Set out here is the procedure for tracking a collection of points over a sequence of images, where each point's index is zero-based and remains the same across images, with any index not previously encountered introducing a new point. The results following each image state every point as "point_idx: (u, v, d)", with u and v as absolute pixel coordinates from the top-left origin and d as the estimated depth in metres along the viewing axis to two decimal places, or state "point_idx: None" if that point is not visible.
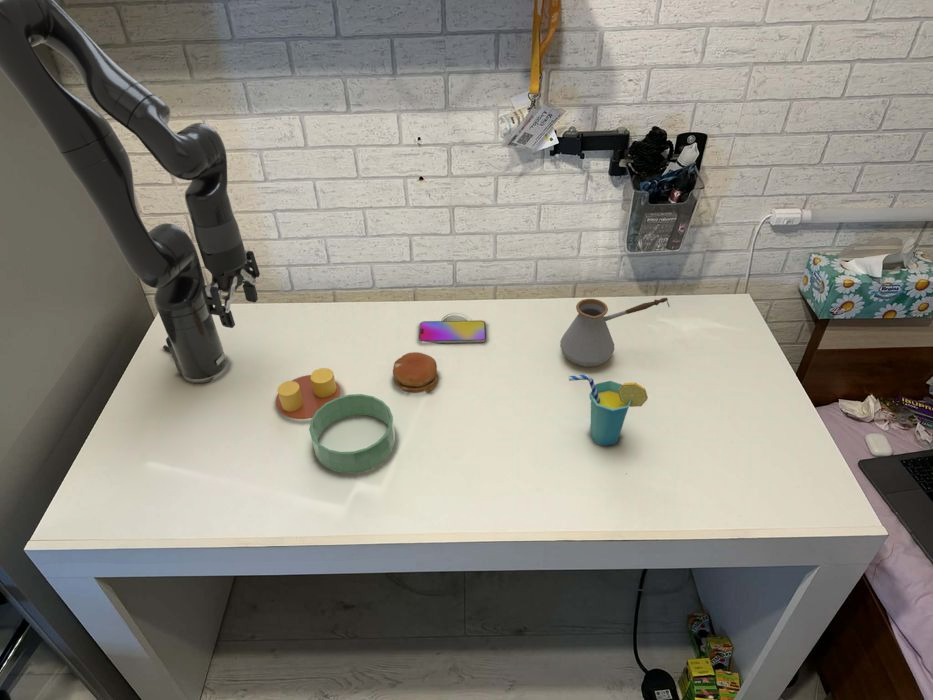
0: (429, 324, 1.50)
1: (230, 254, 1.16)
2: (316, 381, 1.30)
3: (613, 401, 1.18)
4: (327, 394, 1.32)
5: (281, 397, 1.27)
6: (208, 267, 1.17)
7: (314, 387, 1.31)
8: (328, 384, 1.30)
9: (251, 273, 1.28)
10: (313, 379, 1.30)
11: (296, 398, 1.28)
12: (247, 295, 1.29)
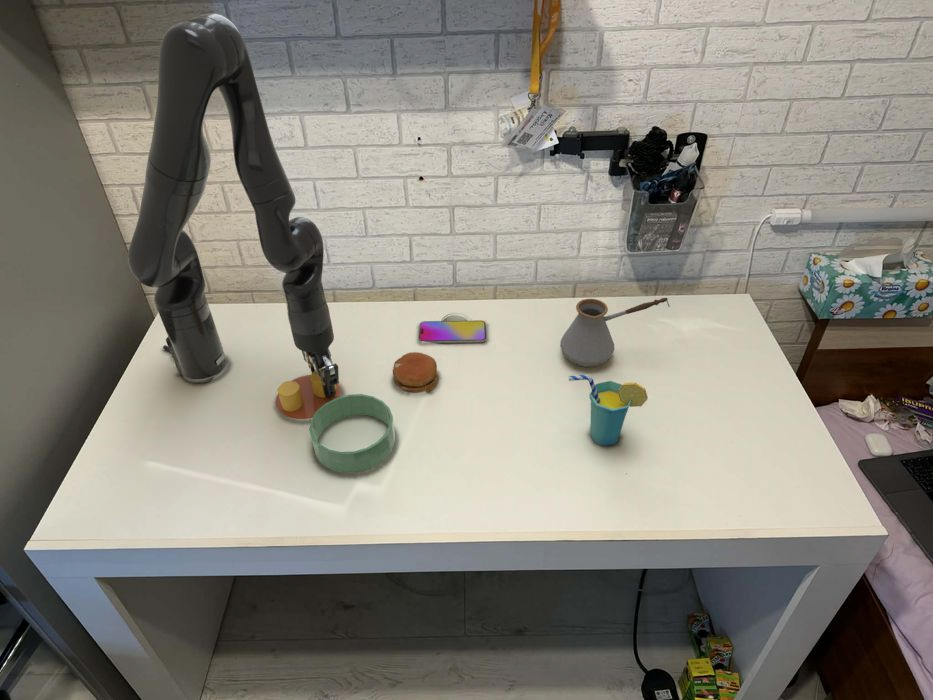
0: (429, 324, 1.50)
1: (330, 326, 1.23)
2: (316, 381, 1.30)
3: (613, 401, 1.18)
4: None
5: (281, 397, 1.27)
6: (316, 348, 1.22)
7: (314, 387, 1.31)
8: None
9: None
10: (313, 379, 1.30)
11: (296, 398, 1.28)
12: None
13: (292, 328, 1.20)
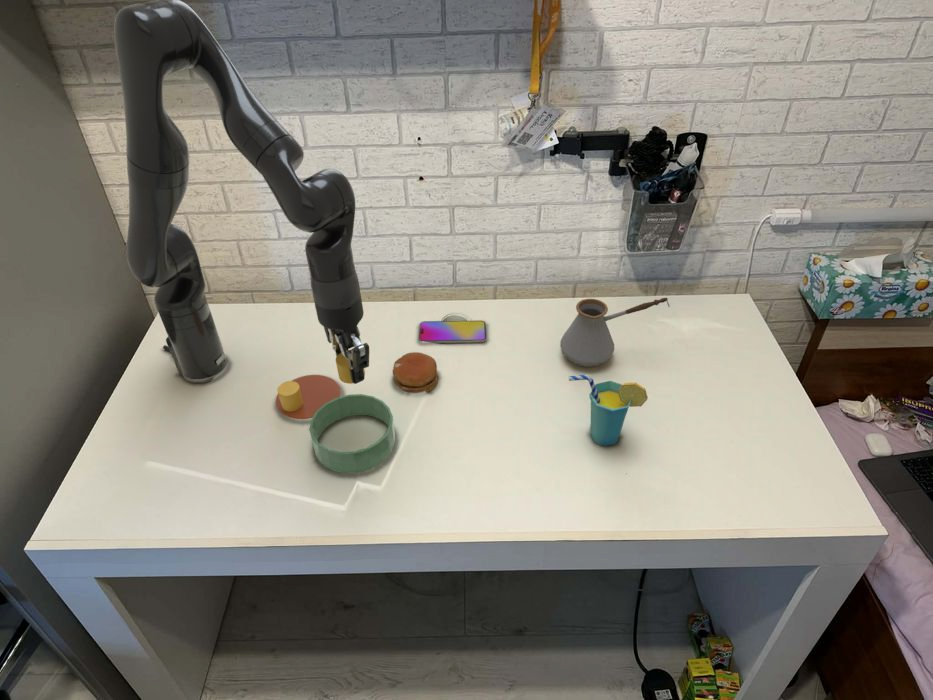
0: (429, 324, 1.50)
1: (360, 299, 1.07)
2: (342, 364, 1.13)
3: (613, 401, 1.18)
4: None
5: (281, 397, 1.27)
6: (344, 325, 1.05)
7: (340, 371, 1.14)
8: None
9: None
10: (339, 362, 1.13)
11: (296, 398, 1.28)
12: None
13: (316, 301, 1.03)
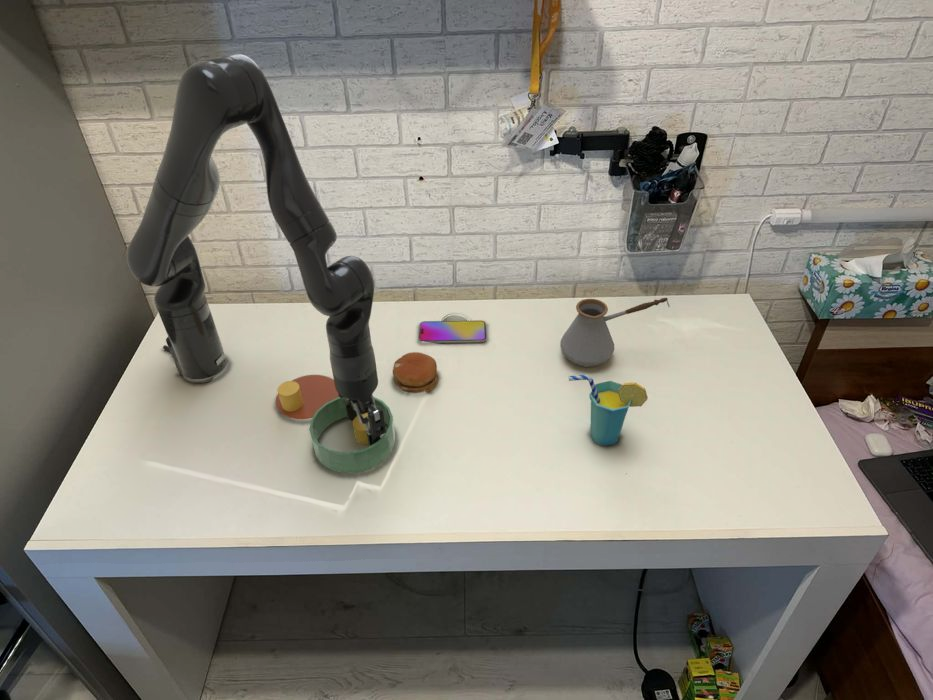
0: (429, 324, 1.50)
1: (375, 370, 1.13)
2: (359, 428, 1.20)
3: (613, 401, 1.18)
4: None
5: (281, 397, 1.27)
6: (360, 395, 1.12)
7: (357, 434, 1.21)
8: None
9: None
10: (356, 426, 1.21)
11: (296, 398, 1.28)
12: (351, 415, 1.24)
13: (335, 373, 1.10)
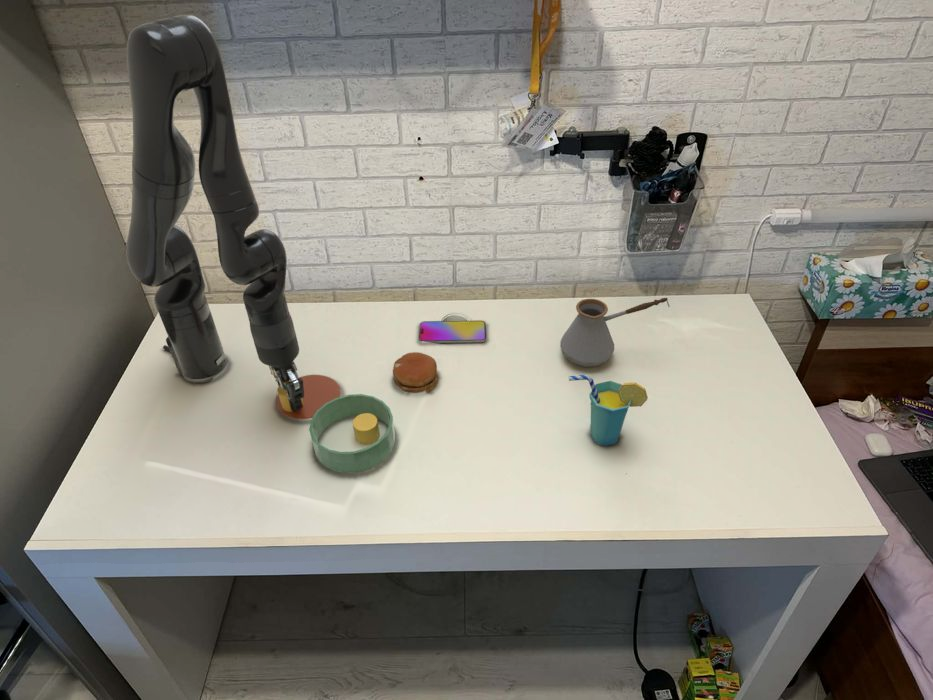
0: (429, 324, 1.50)
1: (295, 339, 1.20)
2: (359, 428, 1.20)
3: (613, 401, 1.18)
4: (370, 442, 1.22)
5: (281, 397, 1.27)
6: (280, 362, 1.19)
7: (357, 434, 1.21)
8: (372, 431, 1.21)
9: None
10: (356, 426, 1.21)
11: None
12: None
13: (255, 342, 1.17)
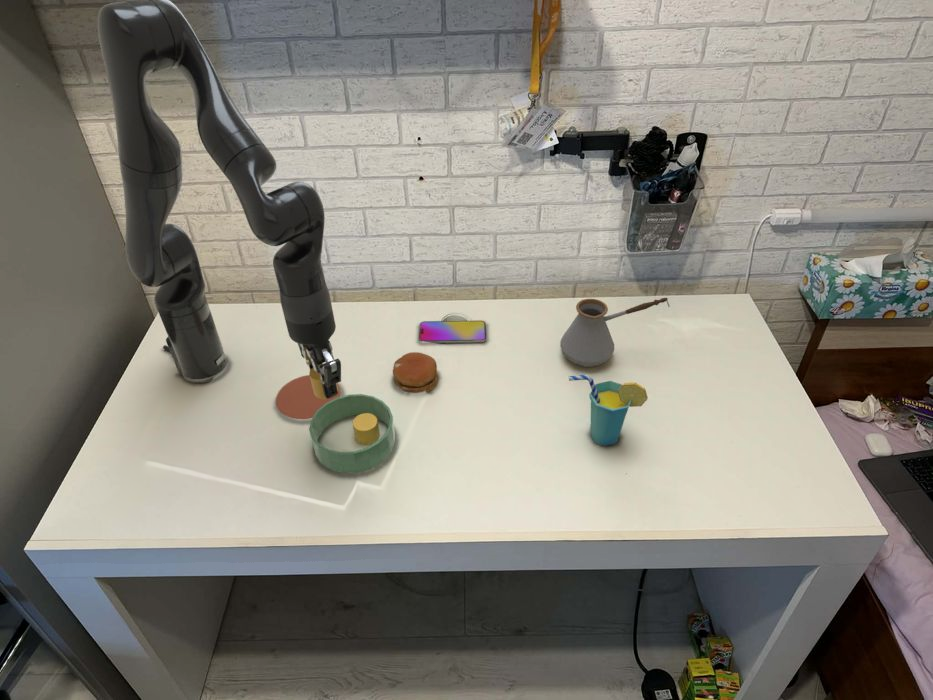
0: (429, 324, 1.50)
1: (332, 314, 1.04)
2: (359, 428, 1.20)
3: (613, 401, 1.18)
4: (370, 442, 1.22)
5: (314, 382, 1.11)
6: (314, 340, 1.03)
7: (357, 434, 1.21)
8: (372, 431, 1.21)
9: None
10: (356, 426, 1.21)
11: None
12: None
13: (286, 316, 1.01)
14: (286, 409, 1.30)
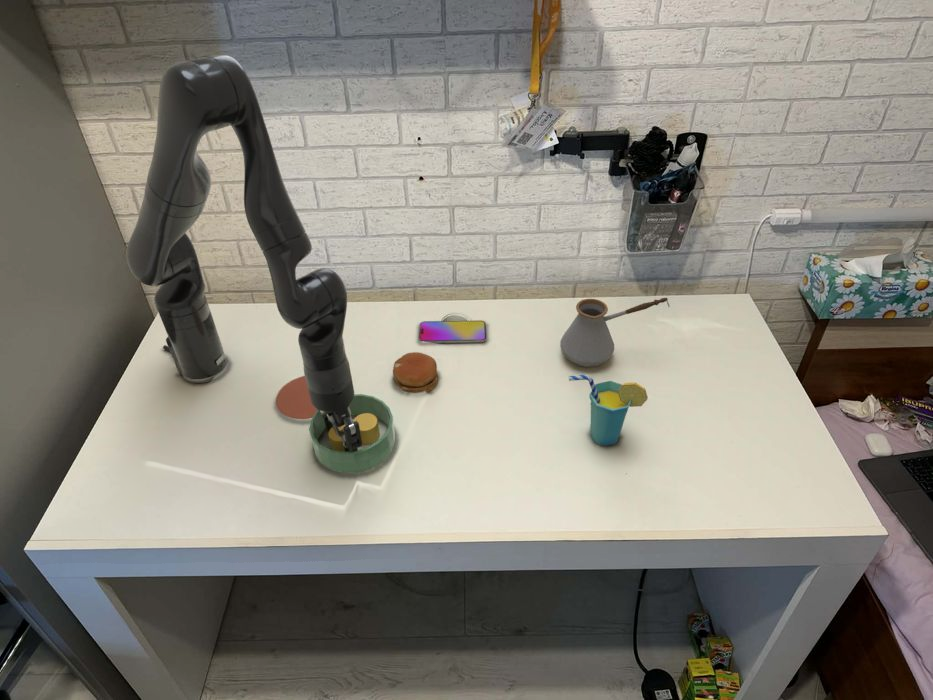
0: (429, 324, 1.50)
1: (351, 382, 1.12)
2: None
3: (613, 401, 1.18)
4: (370, 442, 1.22)
5: (332, 442, 1.18)
6: (335, 408, 1.10)
7: None
8: (372, 431, 1.21)
9: None
10: None
11: None
12: (329, 428, 1.22)
13: (309, 386, 1.08)
14: (286, 409, 1.30)
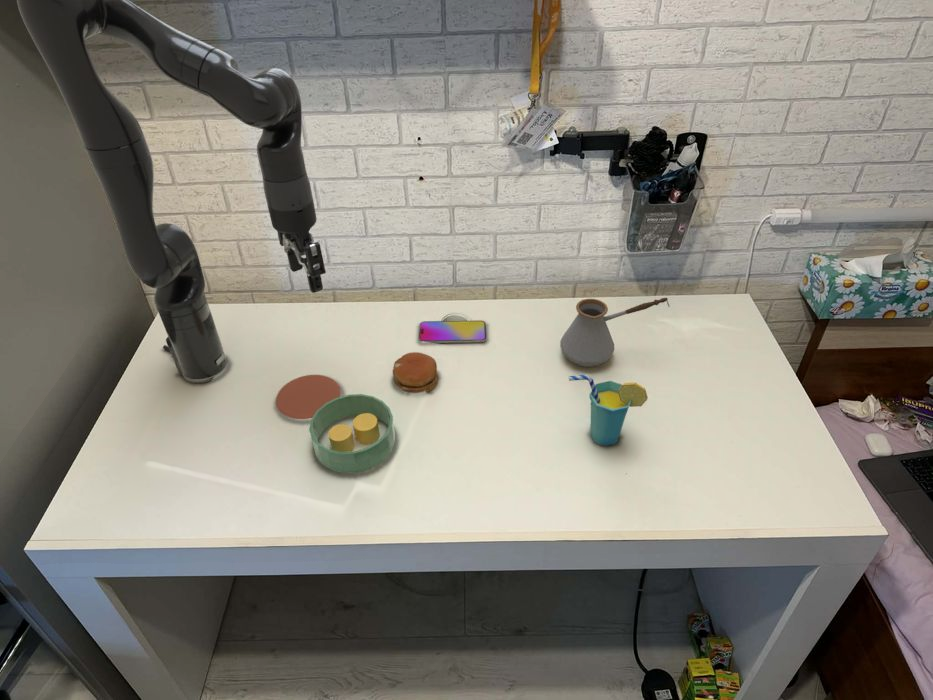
0: (429, 324, 1.50)
1: (312, 205, 1.10)
2: (359, 428, 1.20)
3: (613, 401, 1.18)
4: (370, 442, 1.22)
5: (332, 442, 1.18)
6: (296, 228, 1.09)
7: (357, 434, 1.21)
8: (372, 431, 1.21)
9: None
10: (356, 426, 1.21)
11: (348, 443, 1.19)
12: (293, 264, 1.21)
13: (269, 204, 1.07)
14: (286, 409, 1.30)
